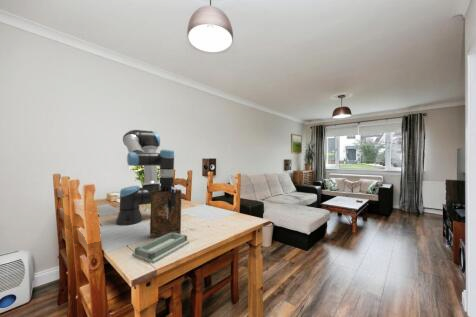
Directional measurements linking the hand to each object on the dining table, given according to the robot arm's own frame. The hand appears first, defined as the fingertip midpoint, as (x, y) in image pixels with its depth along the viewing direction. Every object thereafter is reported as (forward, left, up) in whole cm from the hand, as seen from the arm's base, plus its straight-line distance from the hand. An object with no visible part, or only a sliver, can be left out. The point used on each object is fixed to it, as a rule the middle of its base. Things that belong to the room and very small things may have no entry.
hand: (166, 217), depth 112 cm
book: (0, 0, -10) cm, 10 cm away
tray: (+12, -13, -10) cm, 20 cm away
